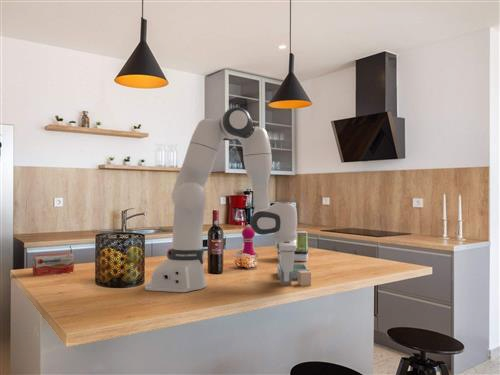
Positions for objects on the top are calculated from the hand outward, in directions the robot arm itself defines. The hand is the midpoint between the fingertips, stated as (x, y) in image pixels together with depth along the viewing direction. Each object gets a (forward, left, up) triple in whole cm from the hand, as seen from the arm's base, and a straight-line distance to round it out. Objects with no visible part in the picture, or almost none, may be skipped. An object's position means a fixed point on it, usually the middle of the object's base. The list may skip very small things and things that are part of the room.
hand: (285, 279), depth 158 cm
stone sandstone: (+7, -1, -2) cm, 7 cm away
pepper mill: (-15, +34, -2) cm, 37 cm away
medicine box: (-99, +17, -2) cm, 100 cm away
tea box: (+8, +56, -2) cm, 57 cm away
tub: (+4, +14, -2) cm, 15 cm away
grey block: (0, 0, -2) cm, 2 cm away
